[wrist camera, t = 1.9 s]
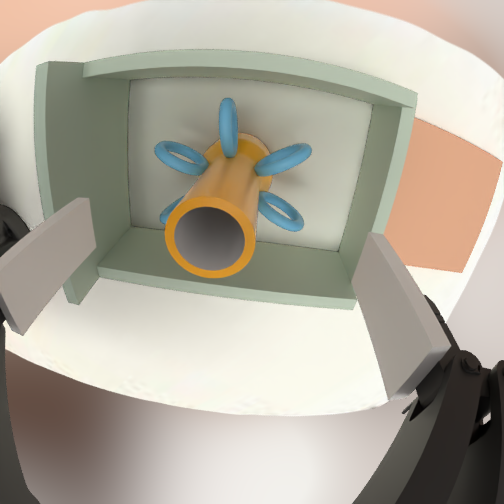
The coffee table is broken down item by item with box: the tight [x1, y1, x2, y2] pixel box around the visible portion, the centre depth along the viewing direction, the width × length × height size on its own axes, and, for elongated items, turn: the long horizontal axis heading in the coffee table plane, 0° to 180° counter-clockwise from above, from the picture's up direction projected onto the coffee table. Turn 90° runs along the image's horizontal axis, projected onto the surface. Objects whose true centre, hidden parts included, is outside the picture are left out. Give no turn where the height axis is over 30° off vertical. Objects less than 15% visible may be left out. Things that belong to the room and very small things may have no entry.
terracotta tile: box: [383, 118, 503, 273], centre depth 25 cm, size 16×16×1 cm
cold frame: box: [34, 49, 418, 310], centre depth 19 cm, size 25×18×12 cm
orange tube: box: [155, 98, 312, 278], centre depth 18 cm, size 12×10×15 cm
